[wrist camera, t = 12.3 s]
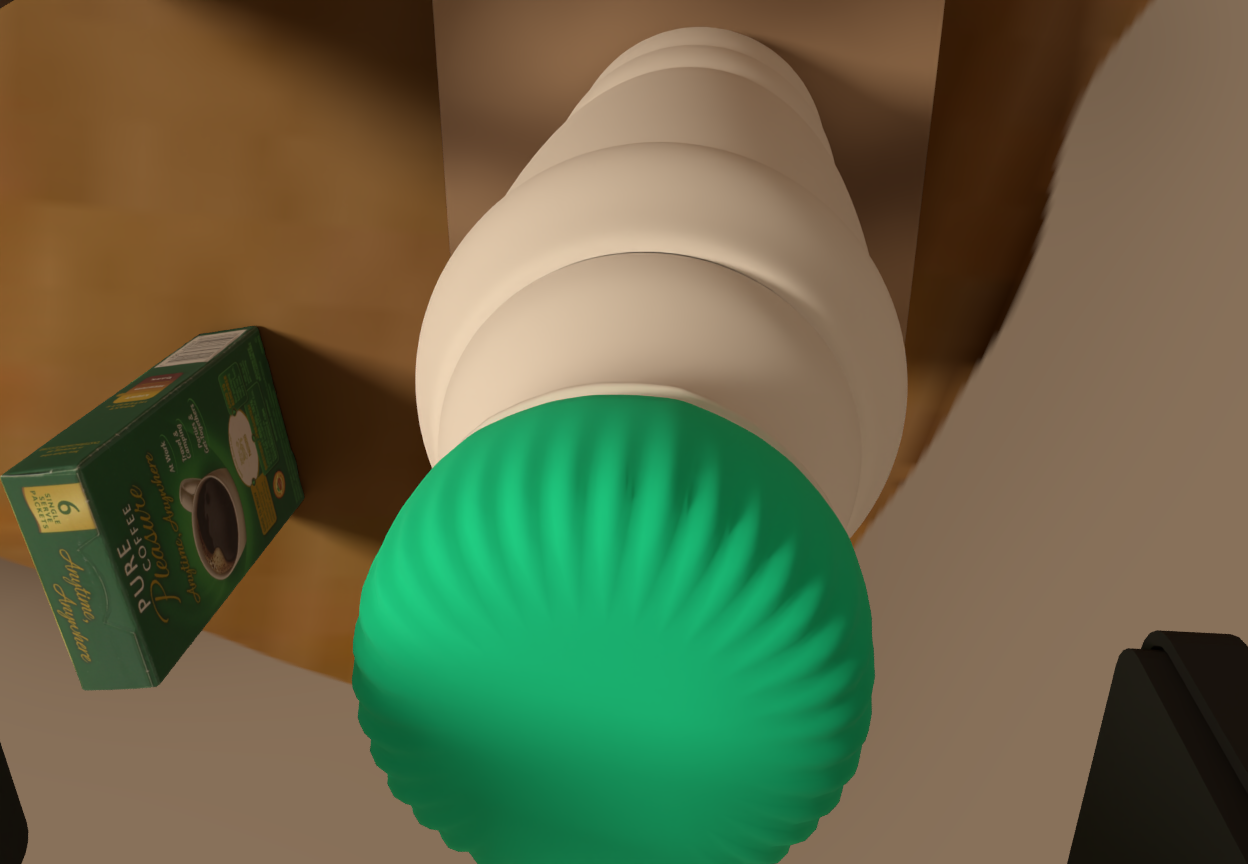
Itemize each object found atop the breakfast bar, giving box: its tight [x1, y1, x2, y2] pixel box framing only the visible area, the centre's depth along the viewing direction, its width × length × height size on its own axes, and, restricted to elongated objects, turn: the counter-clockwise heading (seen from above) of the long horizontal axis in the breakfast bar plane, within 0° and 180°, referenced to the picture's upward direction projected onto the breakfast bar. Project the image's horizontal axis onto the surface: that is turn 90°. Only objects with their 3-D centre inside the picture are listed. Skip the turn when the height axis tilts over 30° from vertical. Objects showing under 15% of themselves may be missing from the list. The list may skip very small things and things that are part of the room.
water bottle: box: [352, 27, 907, 864], centre depth 20 cm, size 7×7×25 cm
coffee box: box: [0, 326, 305, 690], centre depth 39 cm, size 8×3×13 cm, turn 7°
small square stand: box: [432, 0, 945, 347], centre depth 35 cm, size 14×14×7 cm
